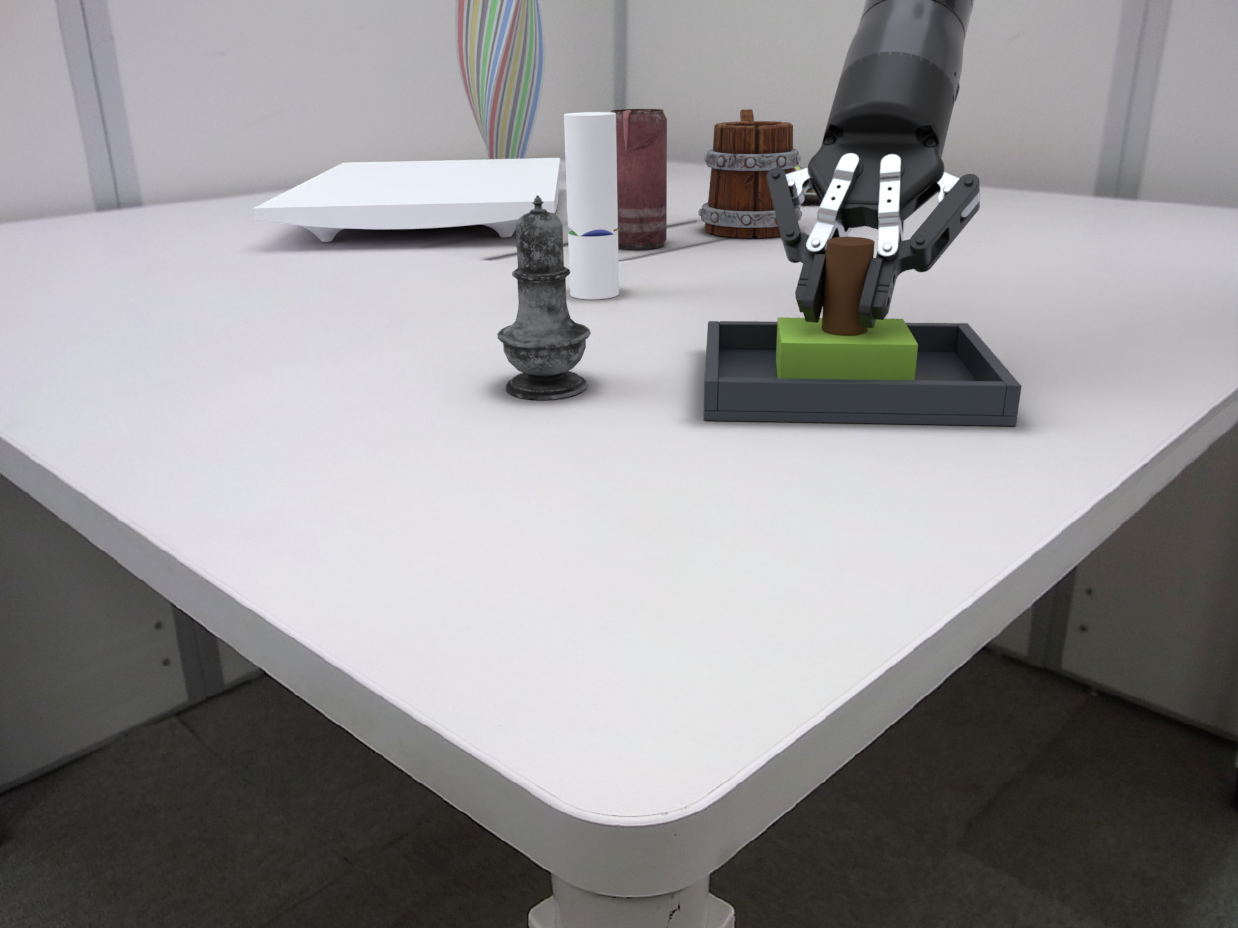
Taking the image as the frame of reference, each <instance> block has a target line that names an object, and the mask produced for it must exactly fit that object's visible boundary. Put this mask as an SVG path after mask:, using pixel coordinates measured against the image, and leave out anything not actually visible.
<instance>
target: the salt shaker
mask: <svg viewBox="0 0 1238 928" xmlns="http://www.w3.org/2000/svg"><path fill="white" fill-rule="evenodd" d="M532 203H533V204H534V209H532V210H531V211H530V212H529V213H526V214H524V215H523V216H522V217H520V218H519V219H518V221H517V223H516V230H515V239H516V259H517V268H516V269H514V270H513V271H512V272H511V276H512V277H513V278H515V280H516V281H517V296H518V297H517V298H518V305H517V313H516V317H515V321H513V323H512V324H510V325H507V326H505V327H503V328H501V329H500V330H498V332H497V339H498V340H499V341H500V342H501V343H502V348H503V353H504V355H505V357H506V359H507V361H508V362H509V364H511V366H512V367H514V368H515V370H517V371H518V372H520V373H519V374H516V375H515V376H513V378H510V379H509V380H508V381H507V382H506V384H505V386H504V387H505V391H506V393H508V394H509V395H511V396H513V397H515V398H516V397H517V398H519V399H525V400H531V401H532V400H535V401H545V400H559V399H565V398H569V397H573V396H577V395H578V394H582V393H583V392H584V391H585V390H587V388H588V381H587V380H586V379H585V378H584V377H583V376H580V375H579V374H578V373H576V372H573V371H571V370H572V369H574V368H575V367H576V366H577V365H578V364H579V363H580V362H581V360H582V359H583V356H584V353H585V350H586V348H587V339H589V338H590V336H591V333H592V332H591V330H590V328H589V327H588V326H586V325H585V324H582V323H579V322H575V321H574V320H573V319H572V318H571V315H570V312H569V308H568V304H567V279H566V278H567V277H569V276H570V270H569V267H566V266H565V262H564V261H565V258H564V256H565V255H564V233H563V223H562V220H561V219H560V218H559V216H558V215H556V214H555V213H550V212H547V211H546V209H542V204H543V203H544V202H543V201H542V199H541V198H539V196H538V195H537V196H536V198H535V199H534V202H532Z"/></svg>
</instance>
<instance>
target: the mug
mask: <svg viewBox="0 0 1238 928" xmlns="http://www.w3.org/2000/svg"><path fill="white" fill-rule="evenodd" d="M739 118H740V121H739V120H738V121H723V122H718V123H715V124H714V125H713V127H714V128H713V143H712V148H711V149H708V150H707V151H706V154H705V155H704V157H703V160H704V162H705V165H706V166H707V168H711V169H710V177H709V178H710V179H709V188H708V198H707V201H706V202H704V203H703V204H702V205H701V208H700V209H699V210H698V212H697V213H698V216H699V217H700V219H701V221H702V222H703V223H704V231H705V232H706V233H708V234H710V235H715V236H716V237H717V236H718V237H722V238H734V239H753V237H756V238H757V239H768V238H769V239H770V238H771V239H772V238H777V237H781V235H780V231H779V227H778V223H777V219H776V215H775V210H774V206H773V202H772V198H771V194H770V190H769V185H768V181H767V173H768V172H769V171H770V170H771V169H773V168H776V167H779V168H782V169H783V170H784V171H785V174H788V173H791V172H793V168H794V167H796V166H798V165H799V166H800V162H801V160H802V157H801V155H800V154H799V150H797V148H794V125H793V124H792V123H791V122H787V121H777V120H775V121H774V120H755V116H754V111H753V109H751V108H750V109H749V108H748V109H741V110H740V112H739ZM795 212H796V216H797V220H798V222H800V221H801V219H802V217H803V211H802V209H801V207H800V208H799V209H795Z"/></svg>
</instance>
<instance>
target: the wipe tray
mask: <svg viewBox="0 0 1238 928" xmlns="http://www.w3.org/2000/svg"><path fill="white" fill-rule="evenodd" d="M905 323H906V325H907V327H908V328H909V330H910V332H911V333H912V335H913V337H914V339H915V340H916V342H917V344H918V350H917V360H916V370H915V380H856V379H785V378H778V376H777V366H776V347H777V324H778V321H763V320H762V321H757V320H756V321H755V320H754V321H753V320H752V321H751V320H750V321H749V320H720V321H718V320H709V321H707V330H706V347H705V348H706V349H705V362H704V363H705V364H704V380H703V421H716V422H717V421H718V422H719V421H722V422H724V421H726V422H770V423H771V422H772V423H773V422H776V423H832V424H833V423H834V424H879V425H880V424H885V425H886V424H888V425H889V424H890V425H938V426H941V425H944V426H945V425H947V426H993V427H994V426H995V427H997V426H998V427H1003V426H1004V427H1016V426H1017V420H1018V414H1019V406H1020V400H1021V393H1022V384H1021V383H1020V382H1019V381H1018V380H1017V379H1016V377H1014V376H1013V374H1012V373H1011V372H1010V371H1009V370H1008V368H1007V367H1006V366H1005V364H1003V362H1001V360H1000V359H999V358H998V357H997V356H996V355H995V353H994V352H993V351H992V350H991V348H989V346H988V345H987V344H986V343H985V341H983V339H982V338H981V337H980V336H979V334H978V333H977V332H976V331H975V330H974V329H973V328H972V326H971V325H970V324H969V323H967V322H905Z"/></svg>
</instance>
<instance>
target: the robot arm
mask: <svg viewBox="0 0 1238 928" xmlns="http://www.w3.org/2000/svg"><path fill="white" fill-rule="evenodd" d="M974 3H975V0H865V1H864V5H863V8H862V12H861V16H860V19H859V23H858V27H857V29H856V32H855V33H854V36H853V37H852V40H851V42H850V44H849V47H848V49H847V52H846V55H845V59H844V62H843V66H842V70H841V73H840V75H839V76H840V77H839V80H838V84H837V87H836V89H835V90H836V92H835V94H834V98H833V101H832V105H831V108H830V112H829V116H828V119H827V123H826V126H825V129H824V132H823V137H822V142H821V146H820V148H819V149H818V151H817V152H816V153H815V154H814V155H813V156H812V157H811V158H810V160H809V162H808V164H807V167H804V168H803V169H801V170H798V171H795V172H791V173H788V174H785V171H784V170H783V169H782V168H779V167H776V168H773V169H771V170H770V171H769V172H768V173H767V181H768V185H769V190H770V194H771V198H772V202H773V206H774V210H775V215H776V219H777V223H778V227H779V231H780V235H781V236H780V238H781V242H782V245H783V248H784V252H785V255H786V258H787V261H789V262H790V263H793V264H797V263H798V264H799V263H801V264H802V266H801V270H800V273H799V277H798V281H797V285H796V288H795V292H794V295H795V300H796V304H797V307H798V311H799V313H801V314H802V315H803V318H805V321H806V322H813V323H818V322H819V319H820V318H821V315H822V312H823V298H824V281H825V265H826V248H827V240H828V239H831V238H836V237H849V235H850V233H851V230H852V229H856V228H863V227H867V228H870V229H873V230H877V231H878V232H877V245H876V255H875V257H873V258H871V260H870V264H869V268H868V272H867V276H866V280H865V284H864V288H863V292H862V296H861V300H860V304H859V311H858V314H859V319H860V324H861V327H865V328H874V326H875V322H876V319H877V320H883V319H886V317H887V315H888V314H889V311H890V307H891V304H892V299H893V295H894V292H895V291H894V290H895V287H896V282H897V279H898V277H899V276H900V275H901V274H902V273H904V272H907V271H911V270H912V271H913V270H914V271H916V272H917V273H925V272H926V273H927V272H929V270H931V269H932V268H933V266H934V265H935V264H936V263H937V262H938V260H939V259H940V258H941V257H942V255H943V254H944V253H945V252H946V251H947V249H948V248H949V247H950V246H951V245H952V243H953V242H954V241H955V240H956V239H957V237H958V236H959V235H960V234H961V232H962V231H963V230H964V229H965V227H966V226H968V224H969V222H970V221H971V220H972V219H973V218H974V216H975V215H976V214H977V213H978V212H979V210H980V208H981V187H980V185H981V184H980V177H979V176H978V175H976V174H974V173H965V174H963V175H962V176H961V177H958V176H955V175H953V174H951V173H949V172H946V171H945V163H944V161H943V158H942V157H943V154H944V149H945V144H946V140H947V135H948V131H949V127H950V122H951V118H952V114H953V110H954V106H955V103H956V102H957V99H958V95H959V92H960V88H961V85H960V82H961V81H960V80H961V76H962V70H963V62H964V47H965V40H966V36H967V32H968V28H969V24H970V19H971V15H972V12H973V8H974ZM811 187H813V189H814V191H815V192H816V194H817V196H818V198H819V200H820V201H821V205H820V204H819V206H818V210H817V213H816V221H815V222H814V225H813V227H812V229H811V232H810V233H809V234H807V233H805V232H803V231H801V229H800V224H799V221H798V220H797V216H796V212H795V209H799V208H800V209H801V207H802V205H801V204H802V203H803V202H804V199H805V192H806V191H807V190H808V189H809V188H811ZM936 195H937V198H936V200H937V205H936V207H934V209H933V210H932V211H931V212H930V214H929V215H928V216H927V217H926V219H925V220H924V221H923V222H922V223H921V224H920V226H919V227H918V228H917V229H916V231H915V232H914V233H913V234H912V235H911V237H910V238H909V239H904V237H905V235H904V234H905V221H906V220H907V219H908V218H909V217H911V216H912V215H913V214H915V213H916V212H917V211H918V210H919V209H920V208H921V207H922V206H924V205H925V204H926V203H927V202H928V201H930V200H931V199H933V197H935V196H936Z"/></svg>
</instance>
